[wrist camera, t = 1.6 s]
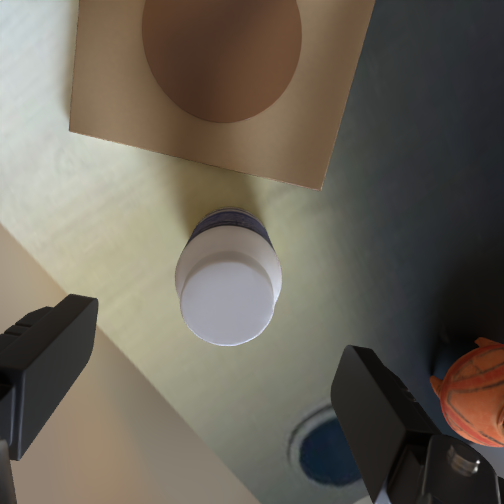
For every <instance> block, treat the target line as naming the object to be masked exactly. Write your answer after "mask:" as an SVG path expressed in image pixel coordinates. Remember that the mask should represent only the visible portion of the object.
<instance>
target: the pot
mask: <svg viewBox="0 0 504 504" xmlns="http://www.w3.org/2000/svg"><path fill="white" fill-rule="evenodd" d="M475 343H476V344H477V345H478V346H479V348H476V349H474V350H472V351H470V352H468V353H466V354H465V355H463V356H462V357H460V358H459V359H458V360H457V361H456V362H455V363H454V364H453V365H452V366H451V367H450V368H449V369H448V371H447V373H446V375H445V377H444V380H440V379H438V378H436V377H435V376H431V377H430V382H431V385H432V388H433V390H434V391H435V393H436V394H437V396H438V397H439V398H440V402H441V408H442V412H443V414H444V417H445V419H446V420H447V422H448V424H449V425H450V426H451V427H452V429H453V430H454V431H456V432H457V433H458V434H459V435H461V436H462V437H464V438H466V439H468V440H470V441H473V442H475V443H478V444H482V445H485V446H491V447H504V344H500V343H497V342H494V341H491V340H489V339H486V338H482V337H479V338H478V339H477V340H476V341H475Z"/></svg>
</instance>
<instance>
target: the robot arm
mask: <svg viewBox="0 0 504 504" xmlns="http://www.w3.org/2000/svg"><path fill="white" fill-rule="evenodd" d="M97 314H98V299H97V298H92V297H87V296H81V295H76V294H69V295H68V296H67V297H66V298H64V299H63V300H62V301H61V302H60V303H58V304H57V305H56V306H55V307H54V308H53V307H47V306H46V307H44V308H41V309H38V310H36V311H33V312H30V313H28V314H27V315H25V316H24V317H23V318H22V319H20V320H19V321H18V322H16V323H15V325H12V326H11V327H10V328H8V329H7V330H6V331H5V332H4V334H0V504H17V501H16V495H15V488H14V482H13V476H12V470H11V464H10V460H16V461H19V460H20V459H21V458H22V456H23V455H24V453H25V452H26V450H27V449H28V447H29V446H30V445H31V443H32V442H33V440H34V439H35V438H36V436H37V435H38V433H39V432H40V430H41V429H42V427H43V426H44V425H45V423H46V422H47V420H48V419H49V418H50V416H51V415H52V413H53V412H54V410H55V409H56V407H57V406H58V405H59V403H60V402H61V400H62V399H63V397H64V396H65V395H66V393H67V392H68V390H69V389H70V387H71V386H72V384H73V383H74V382H75V380H76V379H77V377H78V376H79V375H80V373H81V372H82V370H83V369H84V367H85V366H86V364H87V363H88V361H89V358H90V356H91V353H92V349H93V345H94V338H95V330H96V322H97ZM331 402H332V406H333V408H334V410H335V413H336V415H337V418H338V420H339V423H340V425H341V427H342V430H343V432H344V435H345V437H346V440H347V442H348V444H349V447H350V449H351V452H352V454H353V456H354V459H355V461H356V464H357V466H358V469H359V471H360V473H361V476H362V478H363V481H364V483H365V486H366V488H367V490H368V493H369V495H370V498H371V500H372V502H373V504H504V479H503V478H501V477H498V476H497V475H496V473H495V471H494V469H493V467H492V466H491V465H490V463H489V462H488V461H487V460H486V459H485V458H484V457H483V456H482V455H481V454H480V453H479V452H477V451H476V450H475V449H474V448H472V447H471V446H469V445H468V444H466V443H464V442H463V441H461V440H459V439H457V438H454V437H452V436H448V435H444V434H442V433H441V432H440V430H439V429H438V428H437V427H436V425H435V424H434V423H433V421H432V420H431V419H430V417H429V416H428V415H427V413H426V412H425V411H424V410H423V408H422V407H421V406H420V404H419V403H418V402H416V399H415V398H414V397H413V395H412V394H411V393H410V392H408V389H407V387H406V386H405V385H404V384H403V382H402V381H401V380H400V378H399V377H398V376H396V375H395V374H394V373H393V372H391V371H390V370H389V369H388V368H387V367H385V366H384V365H383V363H382V362H381V361H380V359H379V358H378V357H377V355H376V354H375V353H374V351H373V350H372V349H369V348H364V347H358V346H353V345H348V346H346V348H345V349H344V351H343V354H342V357H341V360H340V362H339V365H338V368H337V371H336V374H335V377H334V380H333V383H332V386H331Z"/></svg>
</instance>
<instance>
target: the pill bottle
mask: <svg viewBox="0 0 504 504" xmlns="http://www.w3.org/2000/svg"><path fill="white" fill-rule="evenodd" d="M281 285H282V272H281V267H280V263H279V260H278V258H277V255H276V253H275V251H274V248H273V246H272V243H271V241H270V238H269V236H268V234H267V231H266V229H265V227H264V226H263V224H262V223H261V222H260V220H259V219H258V218H257V217H255V216H254V215H253V214H251V213H250V212H248V211H246V210H243V209H240V208H234V207H226V208H220V209H217V210H215V211H212V212H211V213H209V214H207V215H206V216H205V217H204V218H203V219H202V220H201V221H200V222H199V223H198V225H197V226H196V228H195V229H194V231H193V233H192V235H191V237H190V239H189V240H188V242H187V244H186V246H185V248H184V250H183V251H182V253H181V255H180V258H179V260H178V263H177V266H176V271H175V286H176V290H177V293H178V296H179V299H180V309H181V314H182V316H183V319H184V321H185V323H186V325H187V326H188V328H189V329H190V330H191V331H192V332H193V333H194V334H195V335H197V336H198V337H199V338H201V339H202V340H204V341H206V342H209V343H212V344H215V345H220V346H234V345H239V344H243V343H245V342H248V341H250V340H252V339H254V338H255V337H257V336H258V335H259V334H260V333H261V332H262V331H263V330H264V329H265V328H266V327H267V325H268V324H269V322H270V320H271V317H272V315H273V311H274V305H275V303H276V301H277V299H278V296H279V294H280V290H281Z"/></svg>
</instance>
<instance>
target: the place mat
mask: <svg viewBox="0 0 504 504" xmlns="http://www.w3.org/2000/svg"><path fill="white" fill-rule="evenodd" d="M375 1H376V0H79V13H78V25H77V37H76V49H75V62H74V74H73V86H72V99H71V111H70V123H69V131H70V132H74V133H78V134H82V135H87V136H91V137H95V138H99V139H103V140H107V141H112V142H116V143H120V144H124V145H128V146H133V147H137V148H141V149H145V150H149V151H154V152H158V153H162V154H166V155H170V156H174V157H179V158H183V159H187V160H191V161H195V162H200V163H204V164H208V165H212V166H216V167H221V168H225V169H229V170H233V171H237V172H241V173H246V174H250V175H254V176H258V177H262V178H267V179H271V180H275V181H279V182H283V183H288V184H292V185H296V186H300V187H304V188H309V189H313V190H317V191H321V189H322V186H323V182H324V179H325V175H326V172H327V168H328V165H329V161H330V158H331V154H332V151H333V147H334V144H335V140H336V137H337V133H338V130H339V126H340V123H341V119H342V116H343V112H344V109H345V105H346V102H347V98H348V95H349V91H350V88H351V85H352V81H353V78H354V74H355V71H356V67H357V64H358V60H359V57H360V53H361V50H362V46H363V43H364V39H365V36H366V32H367V29H368V25H369V22H370V18H371V15H372V11H373V8H374V4H375Z"/></svg>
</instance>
